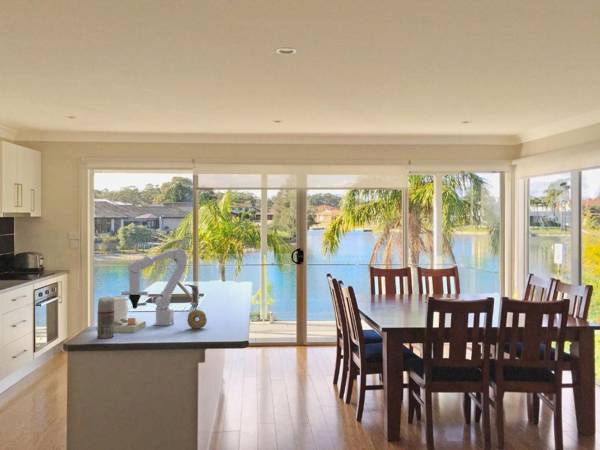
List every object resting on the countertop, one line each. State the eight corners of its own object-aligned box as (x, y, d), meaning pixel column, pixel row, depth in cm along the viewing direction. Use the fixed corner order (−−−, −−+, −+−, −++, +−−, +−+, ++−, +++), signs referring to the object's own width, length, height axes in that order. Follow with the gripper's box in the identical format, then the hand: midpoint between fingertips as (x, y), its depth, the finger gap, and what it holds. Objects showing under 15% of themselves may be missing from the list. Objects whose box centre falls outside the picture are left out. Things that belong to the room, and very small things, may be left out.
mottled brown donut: (186, 329, 293) (186, 310, 293) (188, 327, 297) (188, 309, 297) (205, 329, 293) (205, 310, 293) (207, 328, 296) (207, 309, 296)
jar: (107, 325, 304) (107, 299, 303) (109, 322, 314) (108, 296, 313) (127, 324, 306) (127, 298, 306) (128, 321, 316) (128, 295, 316)
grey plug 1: (123, 329, 293) (123, 320, 293) (119, 330, 289) (119, 322, 289) (116, 329, 293) (115, 320, 293) (112, 330, 289) (112, 322, 289)
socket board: (145, 326, 301) (145, 321, 301) (134, 332, 286) (134, 326, 286) (119, 326, 303) (119, 320, 303) (107, 331, 288) (107, 326, 288)
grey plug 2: (128, 326, 300) (128, 318, 300) (125, 327, 297) (125, 319, 296) (122, 326, 301) (121, 318, 301) (118, 327, 297) (118, 319, 297)
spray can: (116, 335, 280) (116, 296, 279) (111, 338, 271) (111, 298, 271) (100, 335, 279) (99, 296, 279) (94, 338, 271) (94, 298, 271)
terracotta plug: (136, 326, 294) (136, 317, 294) (133, 327, 290) (133, 319, 290) (129, 326, 294) (129, 317, 294) (126, 327, 290) (126, 319, 290)
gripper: (118, 284, 297) (119, 309, 297) (144, 284, 295) (145, 309, 296) (124, 283, 304) (124, 307, 304) (149, 283, 302) (149, 307, 303)
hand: (134, 308), depth 300 cm, fingers closed
